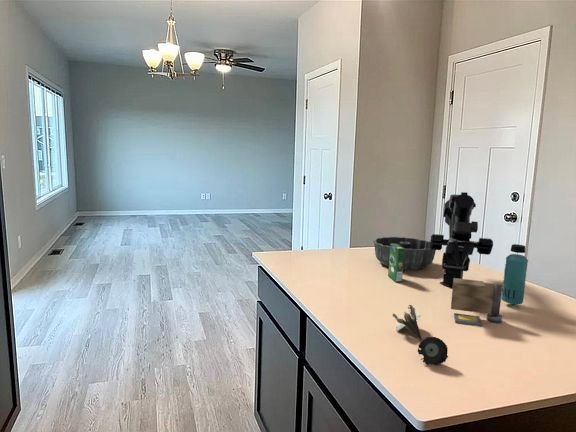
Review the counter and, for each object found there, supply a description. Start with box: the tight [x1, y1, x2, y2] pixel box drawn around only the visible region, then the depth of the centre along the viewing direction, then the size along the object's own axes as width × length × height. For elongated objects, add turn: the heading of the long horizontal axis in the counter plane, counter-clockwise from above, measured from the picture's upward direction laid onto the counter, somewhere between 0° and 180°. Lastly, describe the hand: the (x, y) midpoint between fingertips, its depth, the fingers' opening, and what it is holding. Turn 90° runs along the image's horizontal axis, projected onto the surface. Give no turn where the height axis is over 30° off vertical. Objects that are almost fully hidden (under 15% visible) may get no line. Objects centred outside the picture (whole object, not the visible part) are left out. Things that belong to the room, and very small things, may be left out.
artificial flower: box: [392, 304, 449, 366], centre depth 110 cm, size 9×22×10 cm, turn 177°
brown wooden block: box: [450, 278, 503, 316], centre depth 125 cm, size 13×7×10 cm, turn 73°
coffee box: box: [387, 243, 405, 283], centre depth 163 cm, size 8×3×13 cm, turn 8°
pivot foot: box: [485, 313, 503, 324], centre depth 127 cm, size 4×4×2 cm
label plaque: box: [453, 312, 483, 327], centre depth 126 cm, size 7×6×1 cm
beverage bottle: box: [501, 243, 529, 305], centre depth 138 cm, size 6×7×20 cm
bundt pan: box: [372, 236, 437, 271], centre depth 185 cm, size 26×26×10 cm
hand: (460, 266), depth 137 cm, fingers closed
